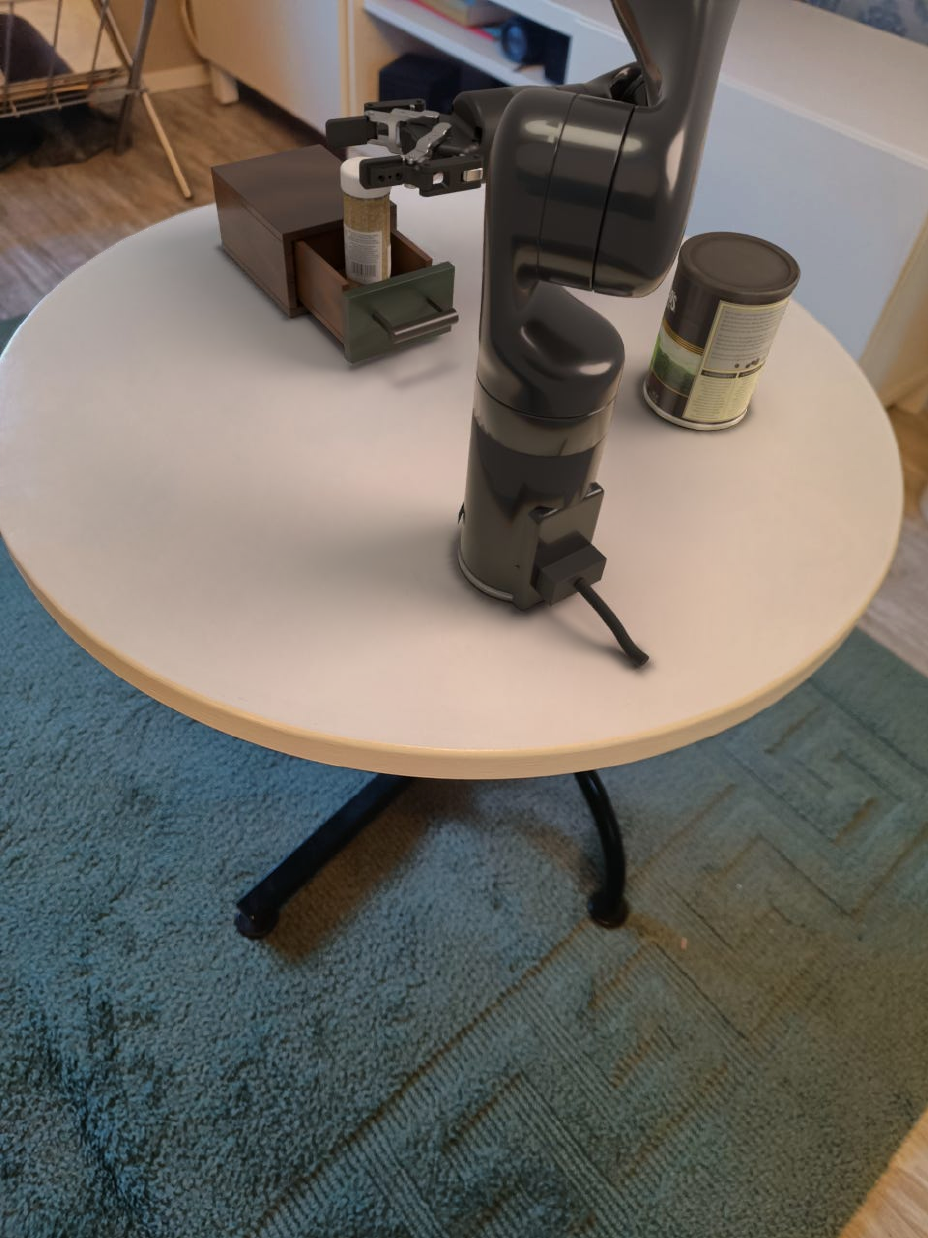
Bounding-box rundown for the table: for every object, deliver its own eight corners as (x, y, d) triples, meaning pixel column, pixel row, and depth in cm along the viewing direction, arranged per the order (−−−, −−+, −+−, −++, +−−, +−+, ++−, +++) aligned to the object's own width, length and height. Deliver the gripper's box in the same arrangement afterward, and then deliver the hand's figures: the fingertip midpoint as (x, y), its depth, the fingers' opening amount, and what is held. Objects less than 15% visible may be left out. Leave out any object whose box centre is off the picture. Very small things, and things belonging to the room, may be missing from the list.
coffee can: (627, 409, 82) (664, 269, 72) (660, 355, 89) (698, 219, 78) (732, 445, 80) (786, 305, 69) (759, 387, 86) (812, 251, 75)
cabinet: (396, 286, 94) (397, 204, 87) (290, 318, 88) (282, 233, 82) (324, 222, 101) (319, 143, 95) (222, 248, 96) (210, 166, 89)
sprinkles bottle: (399, 300, 88) (401, 162, 78) (376, 321, 85) (374, 181, 75) (361, 287, 89) (357, 149, 79) (337, 307, 86) (329, 167, 76)
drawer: (475, 352, 85) (481, 287, 80) (374, 387, 80) (373, 321, 75) (375, 264, 94) (374, 201, 89) (279, 292, 90) (272, 226, 84)
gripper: (478, 61, 81) (313, 75, 76) (551, 120, 73) (372, 141, 68) (472, 145, 87) (318, 164, 82) (539, 209, 79) (373, 234, 74)
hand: (343, 154), depth 75 cm, fingers open, 8 cm apart
